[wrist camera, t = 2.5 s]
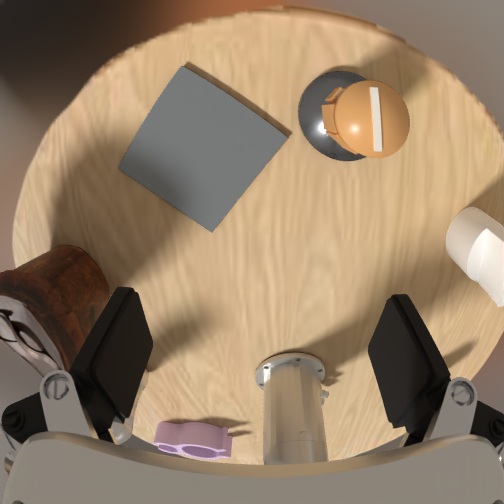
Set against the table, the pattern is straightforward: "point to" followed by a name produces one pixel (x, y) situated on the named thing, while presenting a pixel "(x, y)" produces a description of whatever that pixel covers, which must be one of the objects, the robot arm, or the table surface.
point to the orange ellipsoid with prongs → (367, 119)
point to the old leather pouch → (51, 307)
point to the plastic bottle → (125, 430)
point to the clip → (194, 439)
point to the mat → (200, 148)
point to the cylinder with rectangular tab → (479, 250)
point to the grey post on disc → (313, 116)
